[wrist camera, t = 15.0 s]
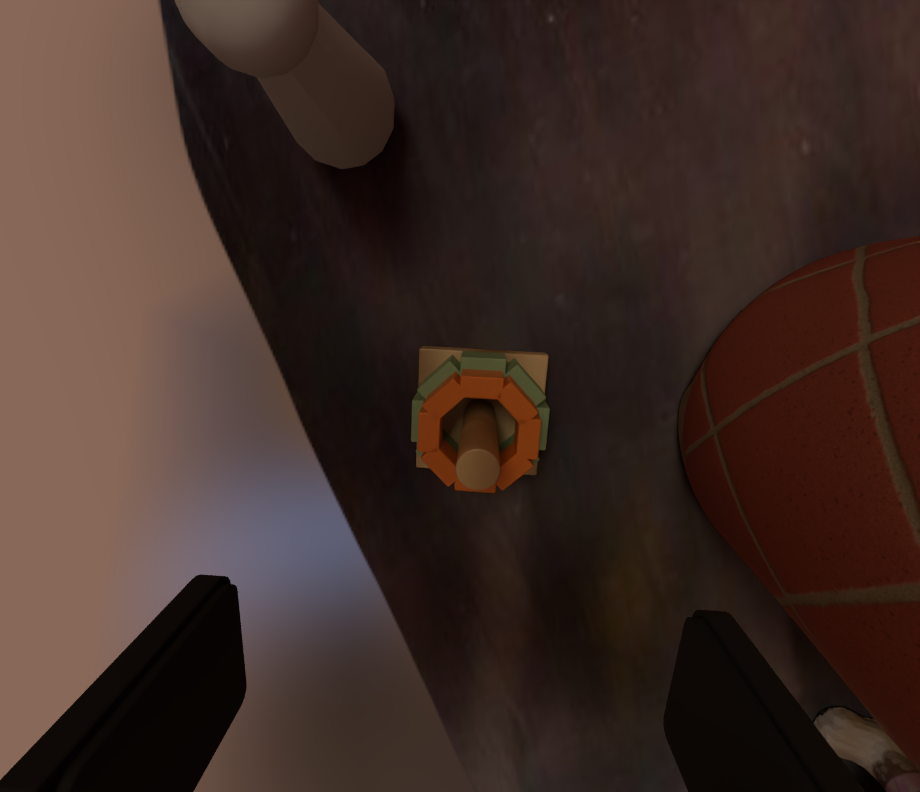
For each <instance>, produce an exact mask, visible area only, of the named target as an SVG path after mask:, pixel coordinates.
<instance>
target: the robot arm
mask: <svg viewBox="0 0 920 792" xmlns="http://www.w3.org/2000/svg"><path fill="white" fill-rule="evenodd" d="M245 692H246V674H245V664H244V654H243V643H242V634H241V622H240V612H239V601H238V591H237V587H236V586H235V585H233V584H231V583H230V580H229V578H228V577H225V576H213V575H197V576H196V577H195V578H193V579H192V580H191V581H190V582H189V583H188V584H187V585H186V586H185V587H184V588H183V590H181V592H180V593H179V594H178V595H177V596H176V597H175V598H174V599H173V600H172V601H171V602H170V603H169V604H168V605H167V606H166V607H165V608H164V609H163V610H162V611H161V612H160V614H159V615H158V616H157V617H156V618H155V619H154V620H153V621H152V622H151V623H150V624H149V625H148V626H147V627H146V628H145V629H144V630H143V631H142V633H140V634H139V635H138V637H137V638H136V639H135V640H134V641H133V642H132V643H131V644H130V645H129V646H128V647H127V648H126V649H125V650H124V651H123V652H122V653H121V654H120V655H119V656H118V658H116V660H115V661H114V662H113V663H112V664H111V665H110V666H109V667H108V668H107V669H106V670H105V671H104V672H103V673H102V674H101V675H100V676H99V678H97V680H96V681H95V682H94V683H93V684H92V685H91V686H90V687H89V688H88V689H87V690H86V691H85V692H84V693H83V694H82V695H81V696H80V697H79V698H78V699H77V700H76V701H75V702H74V704H73V705H72V706H71V707H70V708H69V709H68V710H67V711H66V712H65V713H64V714H63V715H62V716H61V717H60V718H59V719H58V721H56V722H55V723H54V725H52V727H51V728H50V729H49V730H48V731H47V732H46V733H45V734H44V735H43V736H42V737H41V738H40V739H39V740H38V741H37V742H36V743H35V744H34V745H33V746H32V747H31V749H30V750H29V751H28V752H27V753H26V754H25V755H24V756H23V757H22V758H21V759H20V760H19V761H18V762H17V763H16V764H15V765H14V766H13V767H12V768H11V769H10V770H9V772H8V773H7V774H6V775H5V776H4V777H3V778H2V779H1V780H0V792H193V791H194V790H195V788H196V786H197V784H198V782H199V780H200V779H201V777H202V775H203V773H204V771H205V770H206V768H207V766H208V764H209V763H210V760H211V759H212V757H213V755H214V754H215V752H216V750H217V748H218V746H219V745H220V743H221V741H222V739H223V737H224V735H225V734H226V732H227V730H228V728H229V727H230V725H231V723H232V721H233V719H234V718H235V716H236V714H237V712H238V710H239V709H240V707H241V705H242V702H243V700H244V697H245ZM664 731H665V735H666V738H667V741H668V743H669V746H670V748H671V751H672V753H673V756H674V758H675V760H676V763H677V765H678V768H679V770H680V773H681V775H682V777H683V780H684V782H685V785H686V787H687V790H688V792H865V791H864V789H863V788H862V787H861V785H860V784H859V783H858V782H857V780H856V779H855V778H854V776H853V775H852V774H851V772H850V771H849V770H848V768H847V767H846V766H845V764H844V763H843V762H842V760H841V759H840V758H839V756H838V755H837V754H836V752H835V751H834V750H833V748H832V747H831V746H830V745H829V743H828V742H827V741H826V739H825V738H824V737H823V735H822V734H821V733H820V731H819V730H818V729H817V727H816V726H815V725H814V723H813V722H812V721H811V719H810V718H809V717H808V715H807V714H806V713H805V712H804V710H803V709H802V708H801V706H800V705H799V704H798V702H797V701H796V700H795V698H794V697H793V696H792V694H791V693H790V692H789V690H788V689H787V688H786V686H785V685H784V684H783V682H782V681H781V680H780V678H779V677H778V676H777V675H776V673H775V672H774V671H773V669H772V668H771V667H770V665H769V664H768V663H767V661H766V660H765V659H764V657H763V656H762V655H761V653H760V652H759V651H758V649H757V648H756V647H755V645H754V644H753V643H752V642H751V640H750V639H749V638H748V636H747V635H746V634H745V632H744V631H743V630H742V628H741V627H740V626H739V624H738V623H737V622H736V620H735V619H734V618H733V617H732V616H731V615H730V614H729V613H727V612H721V611H707V610H696V611H695V612H694V614H693V617H687V619H686V620H685V623H684V628H683V632H682V637H681V641H680V646H679V650H678V655H677V659H676V664H675V668H674V673H673V677H672V682H671V686H670V691H669V695H668V700H667V704H666V709H665V713H664Z"/></svg>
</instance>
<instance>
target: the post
mask: <svg viewBox="0 0 920 792" xmlns="http://www.w3.org/2000/svg"><path fill="white" fill-rule="evenodd" d="M463 351H476V352H493V353H504V354H505V357H506V360H507V361H506V365H507V364H508V363H509V362H510V361H511V360H512V359H514V358H515V359H516V360H517V361H518V362H519V364H520V365H521V366H522V367H523V368H524V369H525V370H526V371H527V373H528V374H529V375H530V376H531V377H532V378H533V379H534V381H535V382H536V383H537V384H538V385H539V386H540V387H541V389H542V391H543V392H544V394H545V386H546V376H547V366H548V355H547V354H546V353H541V352H523V351H506V350H488V349H471V348H453V347H435V346H422V347H421V348H420V349H419V378H418V387H419V386H420V384H421V383H422V381H423V380H424V379H425V378H426V377H428V376H429V375H430V374H431V373H432V372H433V371H434V370H435V369H436V368H438V367H439V366H440V365H441V364H442V363H443V362H444V361H445V360H447V359H448V358H449V357H450V356H451V355H454V356H455V358H456V359H457V360H458V361H459V362H460V359H461V355H462V352H463ZM515 421H516V420H515V419H514V417H513V416H512V415H511V414H510V413H509V412H508V411H507V410H506V409H505V408H504V406H503V405H502V404H501V403H500V402H499V401H498V400H496V399H480V398H464V399H462V400H461V401H460V402H459V403H458V404H457V405H455V406H454V407H453V408H452V409H451V410H450V411H449V412H447V413H446V414H445V415H444V416H443V429H444V430H445V431H446V432H447V433H448V434H449V435H450V436H451V437H452V438H453V439H454V440H455V441H456V442H457V444H458V445H459V449H458V455H457V462H456V475H457V478H458V479H459V481H460V482H461V483H462V484H463V485H464V486H465V487H467V488H469V489H472V490H485V489H488V488H490V487H491V486H493V485H494V484H495V483H496V482H497V480H498V478H499V476H500V471H501V468H500V457H499V447H498V446H499V445H500V444H501V443H503V442H504V441H505V440H506V439H508V438H509V437H510V436H511V435H512V434H514V432H515ZM417 447H418V442H417ZM538 456H539V451H538ZM537 466H538V462H537V463H536V464H534V466H533V467H532V468H531V469H530V470H528V471H527V472H526V473H525V474H524V475H536V474H537ZM416 467H421V468H429V467H428V466H427V465H426V464H425V463H424V462H423V461H422V460H421V457H420V456H419V455H418V454H416Z"/></svg>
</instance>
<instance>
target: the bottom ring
mask: <svg viewBox="0 0 920 792" xmlns="http://www.w3.org/2000/svg"><path fill="white" fill-rule="evenodd" d="M506 361H507V360H506V357H505V354H504V353H493V352H476V351H463V352H462V355H461V359H460V362H459V361H458V360H457V359H456V358H455V356H454V355H451V356H450V357H449V358H448V359H447V360H445V361H444V362H443V363H442V364H441V365H440V366H439V367H438V368H436V369H435V370H434V371H433V372H432V373H431V374H430V375H429V376H428V377H426V378H425V379H424V380H423V381H422V383H421V384H420V386H419V387H418V389H417V391H418V392H417V394H416V395H415V397H414V398H413V400H412V427H411V441H412V442H418V417H419V412H420V410H421V408H422V405H423V403H424V401H425V399H426V397H427V396H428V395H429V394H430V393H431V392H432V391H433V390H434V389H436V388H437V387H438V386H439V385H440V384H441V383H442V382H443V381H445V380H446V379H447V378H448V377H449V376H450V375H451V374H453V373H454V372H455V371H456V372H457V373H458V374H459V375H460V376H461V372H462V369H475V370H492V371H502V372H503V377H504V378H505V377H506V376H508V375H510V376H511V377H512V378H513V379H514V380H515V381H516V383H517V384H518V385H519V386H520V387H521V388H522V389H523V390H524V392H525V393H526V394H527V395H528V396H529V397H530V398H531V399H532V400H533V402H534V403H535V405H536V408H537V410H538V412H539V413H538V414H539V416H540V418H541V431H540V441H539V450H546V442H547V432H548V423H549V413H550V408H549V406H548V405H547V403H546V401H545V399H546V396H545V394H544V392H543V391H542V389H541V387H540V386H539V385H538V384H537V383H536V382H535V381H534V379H533V378H532V377H531V376H530V375H529V374H528V373H527V371H526V370H525V369H524V368H523V367H522V366H521V365H520V364H519V362H518V361H517V360H516V359H515V358H514V359H512V360H511V361H510V362H509V363H508V364H507V365H506ZM442 437H443V438H444V439H445V441H446V442H447V443H448V444H449V445H450V446H451V447H452V448H453V449H454V450H455V451H456V452H457V453H458V449H459V445H458V444H457V442H456V441H455V440H454V439H453V438H452V437H451V436H450V435H449V434H448V433H447V432H446V431H445V430H444V429H443V435H442ZM513 442H514V434H512V435H511V436H510V437H509V438H508V439H506V440H505V441H504V442H503V443H501V444H500V445H499V446H498V447H499V453H500V452H502V451H503V450H504V449H505V448H507V447H508V446H509V445H510V444H512V443H513ZM416 453H417V454H418V455H419V456H420V457H421V456H422V453H423V452H418V447H417V449H416ZM539 460H540V459H539V456H538V459H537V460H533V459H532V462H533V465H534V464H536V463H537V462H538V461H539ZM454 486H455V482H454ZM496 489H497V485H496Z"/></svg>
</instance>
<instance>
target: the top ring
mask: <svg viewBox="0 0 920 792" xmlns="http://www.w3.org/2000/svg"><path fill="white" fill-rule="evenodd" d="M464 398H480V399H496V400H498V401H499V402H500V403H501V404H502V405H503V406H504V408H505V409H506V410H507V411H508V412H509V413H510V414H511V415H512V416H513V417H514V419H515V420H516V421H515V432H514V442H513V443H512V444H510V445H509V446H508V447H507V448H505V449H504V450H503V451H502V452H500V453H499V457H500V468H501V471H500V476H499V478H498V480H497V482H496V483H495V484H494V485H493V486H491V487H490V488H488V489H485V490H472V489H469V488H467V487H465V486H464V485H463V484H462V483H461V482H460V481H459V479H458V478H457V475H456V462H457V455H458V453H457V452H456V451H455V450H454V449H453V448H452V447H451V446H450V445H449V444H448V443H447V442H446V441H445V439H444V438H443V437H442V435H443V416H444V415H445V414H446V413H447V412H449V411H450V410H451V409H452V408H453V407H454V406H455V405H457V404H458V403H459V402H460V401H461V400H462V399H464ZM538 413H539V412H538V410H537V408H536V405H535V403H534V402H533V400H532V399H531V398H530V397H529V396H528V395H527V394H526V393H525V392H524V390H523V389H522V388H521V387H520V386H519V385H518V384H517V383H516V381H515V380H514V379H513V378H512V377H511V376H510V375H508V376H506V377H505V378H504V377H503V372H502V371H492V370H475V369H462V372H461V376H460V375H459V374H458V373H457V372H456V371H455V372H454V373H453V374H451V375H450V376H449V377H448V378H447V379H446V380H445V381H443V382H442V383H441V384H440V385H439V386H438V387H437V388H436V389H434V390H433V391H432V392H431V393H430V394H429V395H428V396H427V397H426V399H425V401H424V403H423V405H422V408H421V410H420V412H419V417H418V452H423V453H422V456H421V460H422V461H423V462H424V463H425V464H426V465H427V466H428V467H429V468H430V469H431V470H432V471H433V472H434V473H435V474H436V475H437V476H438V477H439V478H440V479H441V480H442V481H443V482H444V483H445V484H446V485H447V486H448V487H449V486H450V485H451V484H453V483H454V482H455V490H458V491H472V492H487V493H495V492H496V485H497V486H498V487H499V488H500V489H501V490H502V491H503V490H504V489H505V488H507V487H508V486H509V485H511V484H512V483H513V482H514V481H516V480H517V479H518V478H519V477H521V476H522V475H523V474H525V473H526V472H527V471H528V470H530V469H531V468H532V467H533V466H534V465H533V462H532V459H533V460H537V459H538V451H539V441H540V431H541V418H540V416H539V414H538Z"/></svg>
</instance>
